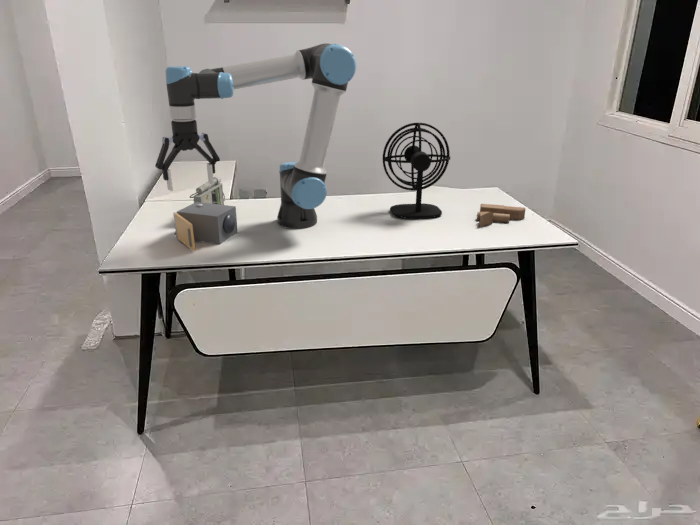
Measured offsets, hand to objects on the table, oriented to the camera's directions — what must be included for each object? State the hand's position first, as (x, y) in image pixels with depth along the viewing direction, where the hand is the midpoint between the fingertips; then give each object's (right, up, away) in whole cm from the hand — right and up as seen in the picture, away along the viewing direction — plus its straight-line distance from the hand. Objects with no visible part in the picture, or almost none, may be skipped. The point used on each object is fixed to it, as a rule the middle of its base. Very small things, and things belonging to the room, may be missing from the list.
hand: (191, 186), depth 176 cm
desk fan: (+78, -4, +44) cm, 89 cm away
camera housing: (+1, -15, +18) cm, 23 cm away
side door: (-5, -18, +9) cm, 21 cm away
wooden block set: (+109, -9, +34) cm, 115 cm away
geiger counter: (-3, -5, +41) cm, 41 cm away
